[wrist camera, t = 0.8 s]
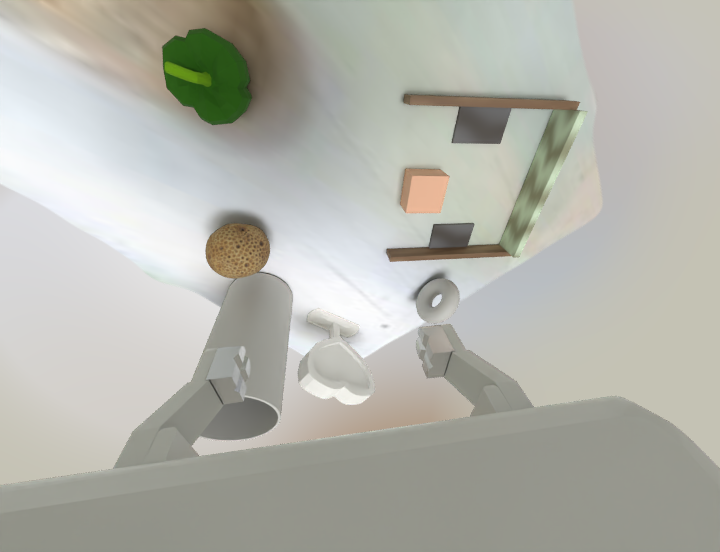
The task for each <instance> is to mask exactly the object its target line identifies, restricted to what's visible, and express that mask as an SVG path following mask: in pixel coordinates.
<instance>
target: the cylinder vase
mask: <svg viewBox="0 0 720 552" xmlns="http://www.w3.org/2000/svg"><path fill="white" fill-rule="evenodd" d="M292 301H293V297H292V293H291V290H290V289H289V287H288V286H287V285H286V284H285V283H284V282H283V281H282V280H280V279H279V278H277V277H275V276H272V275H269V274H265V273H255V274H253V275H250V276H247V277H242V278H237V279H236V280H235V281H234V282H233V283H232V284H231V285H230V287H229V289H228V292H227V294H226V297H225V299H224V302H223V304H222V307H221V309H220V312H219V314H218V316H217V319H216V322H215V324H214V326H213V329H212V331H211V334H210V336H209V339H208V341H207V343H206V346H205V349H204V351H203V353H202V356H203V354H204V352H205V351H206V350H207V349H213V348H223V347H236V346H244V348H245V350H246V352H245V356H247V357H248V358H249V361H250V375H249V379H248V380H247V381H246V382H245V384H246V387H247V389H246V393H245V397H244V401H243V402H237V403H230V404H224V405H223V407H222V408H221V409H220V411H219V412H218V413H217V414H216V416H215V417H214V418H213V419H212V421H211V422H210V423H209V424H208V426H207V427H206V428H205V430H204V431H203V432H202V433H201V435H200V436H199V437H200V438H204V439H209V440H215V441H242V440H248V439H253V438H256V437H260V436H263V435H265V434H267V433H269V432H270V431H272V430H274V429H275V428H276V427H277V426H278V424H279V423H280V418H281V410H282V400H283V389H284V380H285V370H286V361H287V351H288V341H289V331H290V321H291V311H292ZM202 356H201V358H202ZM201 358H200V361H201ZM200 361H199V363H200ZM199 363H198V365H199ZM197 368H198V366H197ZM197 368H196V370H197ZM196 370H195V372H196ZM194 375H195V373H194ZM194 375H193V377H194ZM192 379H193V378H192ZM191 382H192V380H191Z"/></svg>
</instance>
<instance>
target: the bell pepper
mask: <svg viewBox="0 0 720 552" xmlns="http://www.w3.org/2000/svg"><path fill="white" fill-rule="evenodd" d="M162 48H163V69H164V75H165V80H166V86H167V89H168V90H169V91H170V92H171V93H172V94H173V95H174V96H175V97H176V98H177V99H178V101H179V102H180V103H181V104H182V105H183V106H188V107H194V108H195V110H196V112H197V113H198V115H199V116H200V118H201V119H202V120H204V121H206V122H208V123H210V124H212V125H218V124H228V123H233V122H234V121H235V120H236V119H238V118H239V117H240V116H241V115H242V114H243V113H244V112H245V111H246V110H247V108H248V106H249V103H250V101H251V99H252V97H251V94H250V92H249V90H248V89H247V85H248V84H249V82H250V78H249V73H248V68H247V64H246V61H245V60H244V58H243V57H242V56H241V54H240V53H239V52H238V50H237V49H236V48H235V46H234V45H233V44H232V43H230V42H228V41H227V40H225V39H223V38H221V37H220V36H218V35H216V34H215V33H213V32H211V31H209V30H207V29H205V28H203V29H195V30H189V32H188V34H187V36H186V38H183V37H179V36H174V37H173V38H172V39H171V40H170V41H168V42H167V43H166V44H165V45H164V46H162Z"/></svg>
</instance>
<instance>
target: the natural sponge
mask: <svg viewBox="0 0 720 552" xmlns="http://www.w3.org/2000/svg"><path fill="white" fill-rule="evenodd" d="M269 254H270V244H269V241H268V239H267V237H266V235H265V234H264V232H263V231H262V230H261V229H260V228H258V227H256V226H253V225H248V224H239V223H232V224H227V225H224V226H222V227H221V228H219V229H218V230H216V231H215V232H214V233H213V234H212V235H211V236H210V237H209V239H208V241H207V244H206V259H207V262H208V264H209V265H210V267H211V268H212V269H213V270H214V271H215V272H216V273H218V274H220V275H222V276H224V277H227V278H242V277H247V276H250V275H253V274H255V273H257V272H259V271H260V270H261V269H262V268H263V267H264V266H265V264H266V263H267V260H268V258H269Z"/></svg>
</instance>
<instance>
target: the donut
mask: <svg viewBox="0 0 720 552" xmlns="http://www.w3.org/2000/svg"><path fill="white" fill-rule="evenodd" d="M439 294H442V299H441V302H440V303H439V304H438V305H437V306H435V307H432V301H433V299H434V298H435V297H436V296H437V295H439ZM459 300H460V298H459V291H458V288H457V286H456V285H455V284H454V283H453V282H452V281H450V280H447V279H445V278H441V279H435V280H432V281H430V282H429V283H427V284H426V285H425V286H424V287H423V288H422V289H421V291H420V293H419V294H418V297H417V301H416V308H417V312H418V314H419V316H420V317H421V319H423V320H424V321H426V322H428V323H433V324H436V323H440V322H444V321H445V320H447V319H449V318H450V317H451V316H452V315H453V314H454V312H455V311H456V309H457V307H458V304H459Z"/></svg>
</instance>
